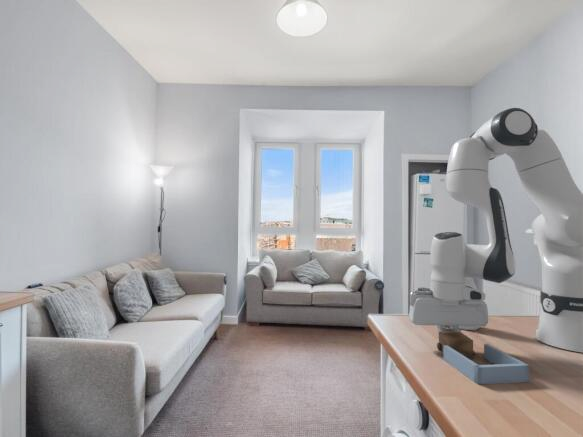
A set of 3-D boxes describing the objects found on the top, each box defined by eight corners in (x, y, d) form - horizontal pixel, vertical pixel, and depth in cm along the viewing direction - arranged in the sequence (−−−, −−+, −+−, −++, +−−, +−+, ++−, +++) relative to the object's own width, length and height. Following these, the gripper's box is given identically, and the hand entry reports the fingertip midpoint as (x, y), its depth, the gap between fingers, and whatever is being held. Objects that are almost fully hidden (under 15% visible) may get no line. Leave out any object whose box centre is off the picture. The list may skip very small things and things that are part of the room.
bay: (487, 357, 78) (487, 343, 78) (529, 381, 66) (529, 365, 66) (443, 359, 76) (443, 345, 76) (477, 384, 64) (477, 367, 65)
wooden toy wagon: (462, 348, 83) (462, 328, 83) (475, 358, 77) (475, 336, 77) (436, 348, 83) (436, 327, 84) (447, 357, 78) (447, 335, 78)
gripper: (413, 292, 82) (413, 344, 82) (491, 294, 81) (491, 346, 81) (405, 287, 88) (405, 335, 88) (478, 289, 87) (478, 337, 87)
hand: (447, 341), depth 84 cm, fingers closed
